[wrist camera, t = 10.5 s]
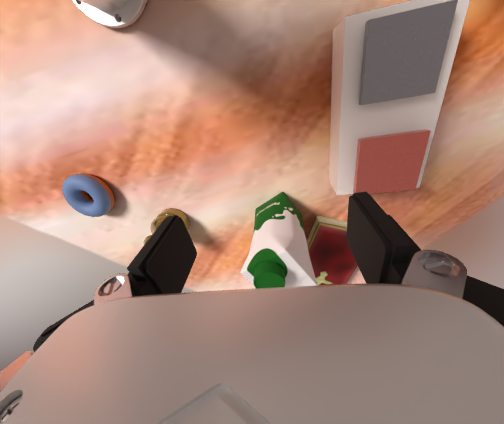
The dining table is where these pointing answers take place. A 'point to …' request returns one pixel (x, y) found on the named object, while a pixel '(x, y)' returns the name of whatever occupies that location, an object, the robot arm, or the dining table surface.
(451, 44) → the white button box
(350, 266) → the hardcover book
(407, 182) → the red square push button
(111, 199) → the doughnut
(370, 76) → the grey square push button
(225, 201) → the dining table surface
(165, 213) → the gold rounded piece
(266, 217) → the milk carton
